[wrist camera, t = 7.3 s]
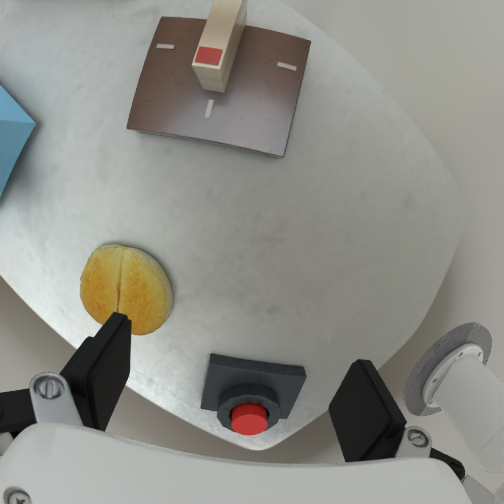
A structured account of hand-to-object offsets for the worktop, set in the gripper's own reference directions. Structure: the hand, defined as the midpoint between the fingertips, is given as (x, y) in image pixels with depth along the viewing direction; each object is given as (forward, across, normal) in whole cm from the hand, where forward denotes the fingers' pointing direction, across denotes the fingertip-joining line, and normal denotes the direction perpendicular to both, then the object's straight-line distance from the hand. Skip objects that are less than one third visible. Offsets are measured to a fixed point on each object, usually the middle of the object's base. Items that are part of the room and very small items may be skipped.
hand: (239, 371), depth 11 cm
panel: (+15, +5, -15) cm, 22 cm away
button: (+12, -5, +16) cm, 20 cm away
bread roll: (+15, +10, +5) cm, 19 cm away
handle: (+12, +5, -16) cm, 20 cm away
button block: (+15, -4, +14) cm, 21 cm away
